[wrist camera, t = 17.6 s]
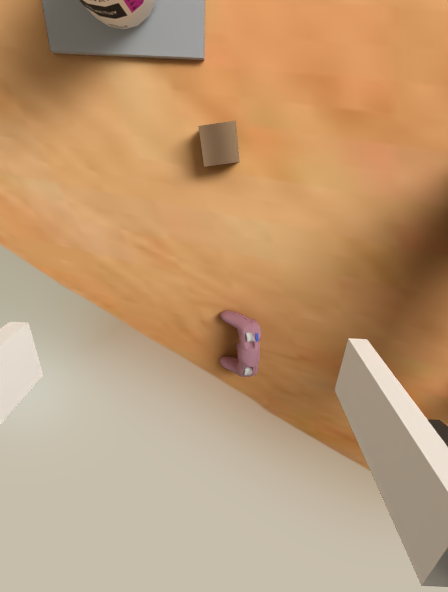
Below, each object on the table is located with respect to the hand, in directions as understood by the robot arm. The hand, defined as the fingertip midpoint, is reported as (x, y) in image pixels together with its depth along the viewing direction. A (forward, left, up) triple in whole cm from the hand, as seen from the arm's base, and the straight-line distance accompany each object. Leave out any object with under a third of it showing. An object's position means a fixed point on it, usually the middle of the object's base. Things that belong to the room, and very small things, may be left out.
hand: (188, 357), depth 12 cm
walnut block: (0, -9, -29) cm, 30 cm away
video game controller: (-4, +17, -29) cm, 34 cm away
